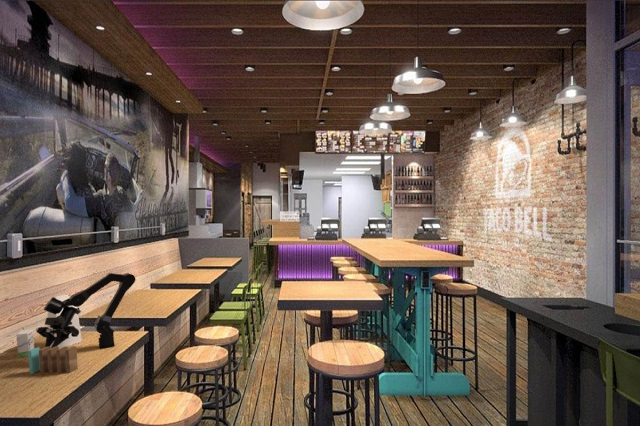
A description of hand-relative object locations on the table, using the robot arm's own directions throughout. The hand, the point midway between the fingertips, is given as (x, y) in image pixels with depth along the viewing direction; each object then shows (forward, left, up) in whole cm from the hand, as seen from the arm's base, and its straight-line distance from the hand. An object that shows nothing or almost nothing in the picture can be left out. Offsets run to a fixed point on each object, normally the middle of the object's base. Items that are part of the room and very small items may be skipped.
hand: (49, 348), depth 191 cm
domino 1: (+5, +6, -7) cm, 11 cm away
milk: (-4, -35, -8) cm, 36 cm away
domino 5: (-10, +16, -7) cm, 20 cm away
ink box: (+12, -27, -8) cm, 30 cm away
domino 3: (-3, +11, -7) cm, 13 cm away
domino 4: (-6, +13, -7) cm, 17 cm away
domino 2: (+1, +8, -7) cm, 11 cm away
